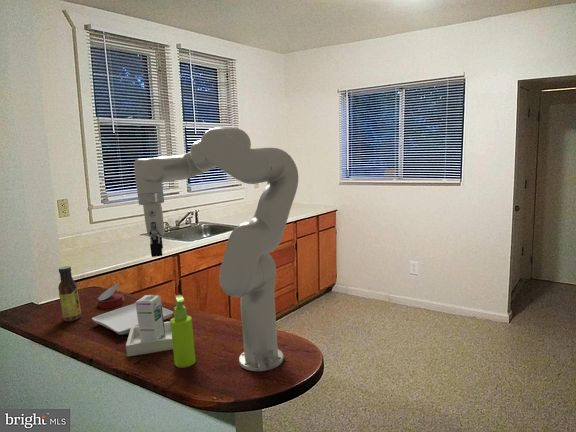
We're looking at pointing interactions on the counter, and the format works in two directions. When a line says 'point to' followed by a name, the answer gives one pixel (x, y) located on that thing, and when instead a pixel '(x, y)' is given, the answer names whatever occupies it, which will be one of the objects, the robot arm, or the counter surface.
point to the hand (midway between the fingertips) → (157, 252)
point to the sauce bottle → (68, 295)
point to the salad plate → (123, 319)
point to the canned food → (111, 298)
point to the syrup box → (150, 318)
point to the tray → (148, 342)
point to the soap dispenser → (182, 335)
